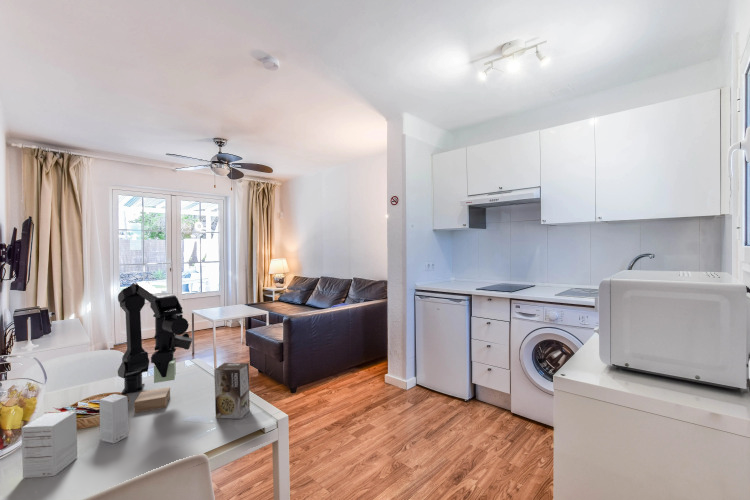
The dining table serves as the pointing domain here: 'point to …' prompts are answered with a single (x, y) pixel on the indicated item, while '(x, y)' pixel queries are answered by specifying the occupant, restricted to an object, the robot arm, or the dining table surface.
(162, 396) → the walnut block
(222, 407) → the grey cardboard box
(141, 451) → the dining table surface
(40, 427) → the supplement box
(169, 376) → the sage cube
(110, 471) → the dining table surface
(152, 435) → the dining table surface
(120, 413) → the skincare box
